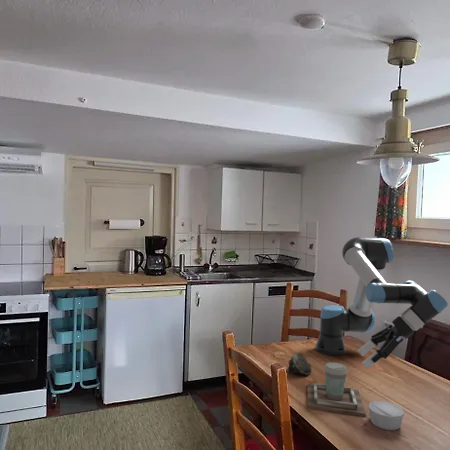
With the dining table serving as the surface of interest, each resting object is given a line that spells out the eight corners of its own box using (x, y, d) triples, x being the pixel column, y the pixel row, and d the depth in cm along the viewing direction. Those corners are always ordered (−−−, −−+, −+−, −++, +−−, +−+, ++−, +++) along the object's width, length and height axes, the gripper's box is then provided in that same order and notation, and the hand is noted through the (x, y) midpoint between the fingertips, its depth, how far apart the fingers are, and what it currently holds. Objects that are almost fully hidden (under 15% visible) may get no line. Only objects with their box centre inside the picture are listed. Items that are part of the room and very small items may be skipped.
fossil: (311, 378, 169) (300, 356, 170) (291, 384, 171) (281, 363, 172) (313, 368, 179) (303, 347, 180) (294, 374, 182) (285, 354, 183)
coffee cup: (322, 400, 148) (324, 368, 147) (323, 390, 156) (324, 360, 156) (346, 403, 146) (348, 371, 145) (345, 393, 154) (347, 363, 154)
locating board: (307, 385, 162) (307, 379, 162) (358, 392, 158) (358, 385, 158) (307, 408, 143) (307, 401, 143) (365, 416, 139) (365, 409, 139)
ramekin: (364, 425, 133) (364, 409, 133) (372, 412, 142) (372, 397, 142) (399, 436, 127) (400, 420, 127) (405, 422, 136) (406, 407, 136)
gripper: (424, 341, 132) (374, 380, 135) (406, 322, 156) (364, 355, 160) (408, 324, 133) (359, 363, 136) (393, 308, 157) (351, 341, 161)
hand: (362, 359), depth 148 cm, fingers open, 13 cm apart
